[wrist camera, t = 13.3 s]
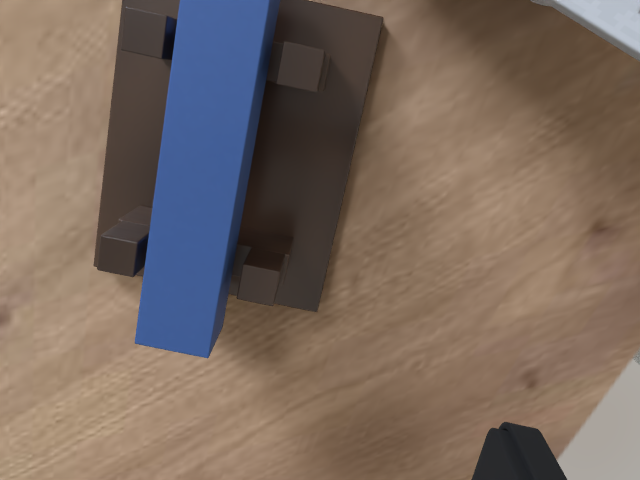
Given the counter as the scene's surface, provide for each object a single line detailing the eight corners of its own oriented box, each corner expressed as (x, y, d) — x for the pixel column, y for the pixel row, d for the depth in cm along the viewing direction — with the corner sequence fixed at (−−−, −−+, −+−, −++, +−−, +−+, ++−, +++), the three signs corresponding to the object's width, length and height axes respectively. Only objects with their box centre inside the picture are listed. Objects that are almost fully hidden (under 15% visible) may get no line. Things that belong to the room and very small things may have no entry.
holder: (382, 19, 27) (396, 1, 21) (317, 305, 31) (313, 362, 25) (133, -36, 27) (71, -72, 21) (100, 260, 31) (40, 307, 25)
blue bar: (285, -28, 23) (277, -45, 20) (222, 327, 28) (208, 358, 24) (207, -46, 23) (188, -65, 20) (156, 314, 27) (134, 344, 24)
